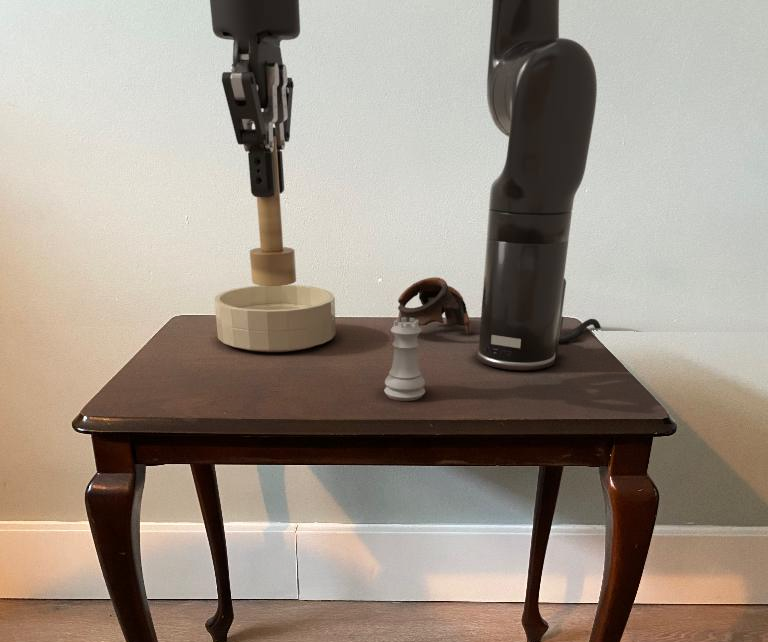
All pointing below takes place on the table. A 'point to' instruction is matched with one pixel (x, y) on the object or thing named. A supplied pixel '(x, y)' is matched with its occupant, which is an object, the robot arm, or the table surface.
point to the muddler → (272, 242)
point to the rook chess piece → (405, 363)
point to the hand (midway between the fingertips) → (268, 194)
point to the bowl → (275, 317)
